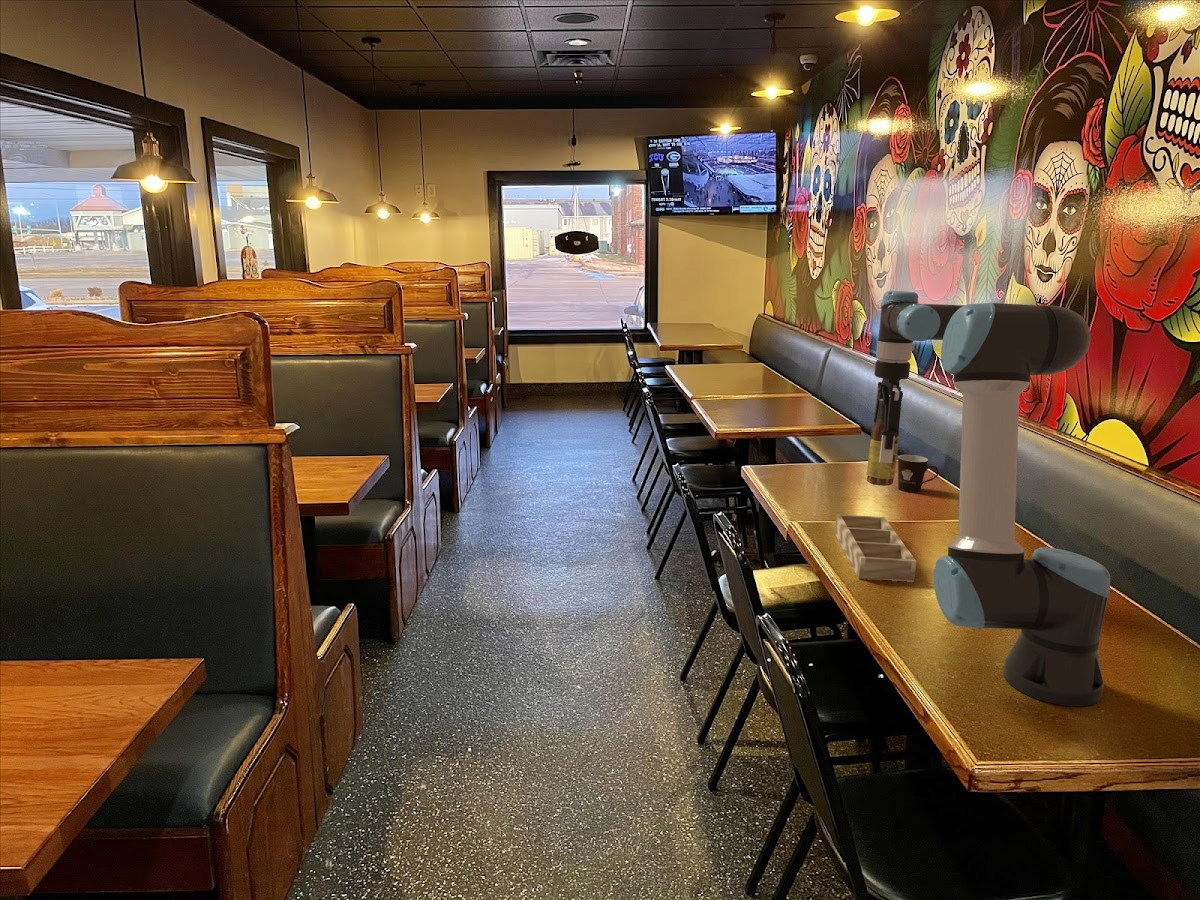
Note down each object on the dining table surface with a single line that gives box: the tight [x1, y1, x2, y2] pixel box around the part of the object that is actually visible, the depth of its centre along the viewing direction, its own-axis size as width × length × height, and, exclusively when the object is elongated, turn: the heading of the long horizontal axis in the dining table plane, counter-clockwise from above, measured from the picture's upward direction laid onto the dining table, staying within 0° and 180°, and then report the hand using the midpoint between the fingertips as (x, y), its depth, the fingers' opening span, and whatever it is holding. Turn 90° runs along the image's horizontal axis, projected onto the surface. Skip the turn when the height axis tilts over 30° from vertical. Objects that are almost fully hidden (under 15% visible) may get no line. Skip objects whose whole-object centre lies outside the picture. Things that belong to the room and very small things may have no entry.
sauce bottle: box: [866, 399, 900, 487], centre depth 195 cm, size 7×6×20 cm
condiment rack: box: [834, 514, 917, 583], centre depth 201 cm, size 31×12×5 cm, turn 175°
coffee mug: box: [897, 454, 940, 494], centre depth 256 cm, size 12×9×10 cm
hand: (882, 458), depth 196 cm, fingers closed on sauce bottle, 6 cm apart
